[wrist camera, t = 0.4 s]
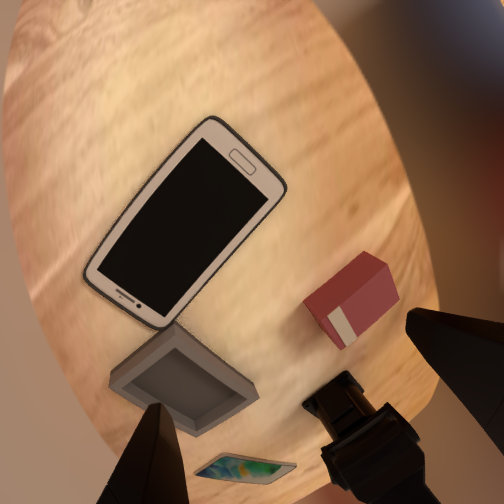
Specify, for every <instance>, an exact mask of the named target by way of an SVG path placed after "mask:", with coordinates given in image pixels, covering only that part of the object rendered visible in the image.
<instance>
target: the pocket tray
mask: <svg viewBox="0 0 504 504" xmlns="http://www.w3.org/2000/svg"><path fill="white" fill-rule="evenodd" d="M108 388H110V389H111V390H113V391H114V392H116V393H117V394H119V395H120V396H122V397H123V398H125V399H127V400H128V401H130V402H131V403H133V404H135V405H136V406H138V407H140V408H141V409H143V410H145V411H146V409H147V407H148V405H149V404H151V403H156V402H162V403H163V404H164V406H165V407H166V409H167V410H168V412H169V414H170V415H171V417H172V419H173V422H174V426H175V427H176V428H178V429H180V430H182V431H184V432H186V433H188V434H190V435H192V436H194V437H198V436H200V435H202V434H204V433H205V432H207V431H209V430H210V429H212V428H214V427H215V426H217V425H219V424H220V423H222V422H224V421H225V420H227V419H229V418H230V417H232V416H233V415H235V414H236V413H238V412H240V411H241V410H243V409H244V408H246V407H247V406H249V405H250V404H252V403H253V402H255V401H256V400H258V399H259V398H260V397H259V395H258V393H257V390H256V388H255V386H254V383H253V382H251V381H250V380H249V379H247V378H246V377H244V376H243V375H242V374H240V373H239V372H238V371H236V370H235V369H234V368H233V367H231V366H230V365H229V364H227V363H226V362H225V361H223V360H222V359H221V358H220V357H218V356H217V355H216V354H215V353H213V352H212V351H211V350H210V349H208V348H207V347H206V346H205V345H203V344H202V343H201V342H200V341H199V340H197V339H196V338H195V337H194V336H193V335H191V334H190V333H189V332H188V331H187V330H186V329H184V328H183V327H182V326H181V325H180V324H179V323H177V322H176V321H175V320H174V321H173V322H172V323H171V324H170V325H169V326H168V327H167V328H166V329H164V330H162V331H159V332H158V333H157V334H155V335H154V336H153V337H152V338H150V339H149V340H148V341H147V342H146V343H144V344H143V345H142V346H141V347H140V348H138V349H137V350H136V351H135V352H134V353H132V354H131V355H130V356H129V357H127V358H126V359H125V360H124V361H123V362H121V363H120V364H119V365H118V366H117V367H115V368H114V369H113V370H112V371H111V374H110V380H109V387H108Z"/></svg>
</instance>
